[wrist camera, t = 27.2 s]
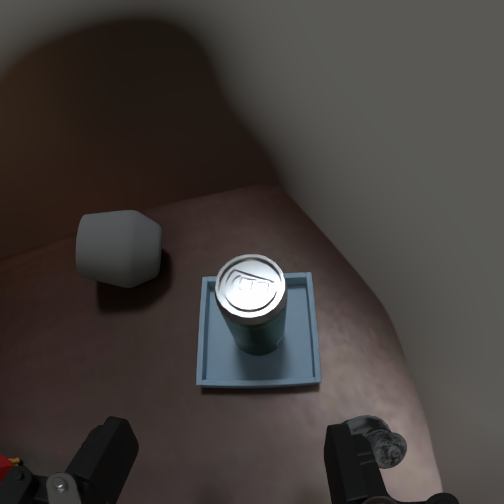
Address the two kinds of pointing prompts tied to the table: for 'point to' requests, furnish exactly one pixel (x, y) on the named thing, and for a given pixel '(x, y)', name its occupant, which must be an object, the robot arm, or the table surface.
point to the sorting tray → (267, 366)
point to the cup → (119, 248)
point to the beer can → (253, 302)
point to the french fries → (6, 466)
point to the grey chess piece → (380, 440)
